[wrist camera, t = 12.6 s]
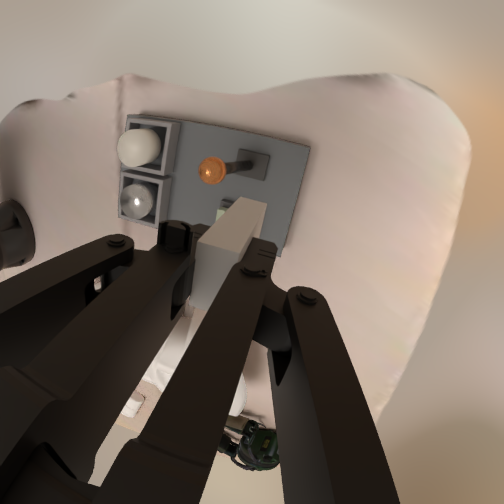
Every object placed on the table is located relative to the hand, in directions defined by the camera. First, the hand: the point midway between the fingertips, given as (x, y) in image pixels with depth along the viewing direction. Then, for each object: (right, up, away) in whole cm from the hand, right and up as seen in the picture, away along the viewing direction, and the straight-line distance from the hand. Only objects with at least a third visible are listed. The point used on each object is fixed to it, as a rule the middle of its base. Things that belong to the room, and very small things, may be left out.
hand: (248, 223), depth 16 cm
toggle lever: (0, +8, +17) cm, 19 cm away
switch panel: (-6, +8, +22) cm, 24 cm away
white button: (-13, +11, +17) cm, 24 cm away
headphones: (-1, -42, +44) cm, 61 cm away
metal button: (-14, +6, +21) cm, 26 cm away
